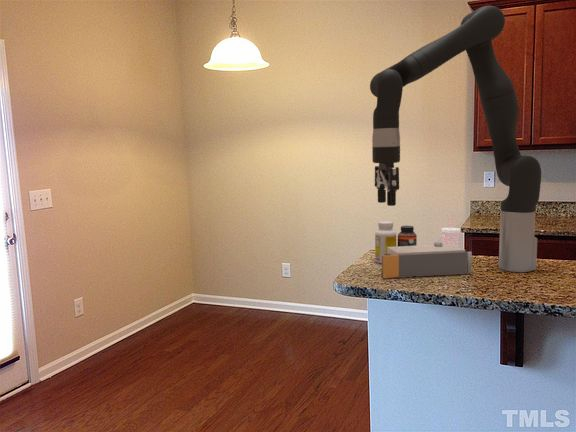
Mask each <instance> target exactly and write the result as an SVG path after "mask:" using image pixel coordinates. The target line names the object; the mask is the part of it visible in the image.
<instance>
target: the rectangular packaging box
mask: <svg viewBox="0 0 576 432" xmlns="http://www.w3.org/2000/svg"><path fill="white" fill-rule="evenodd" d="M451 252H466V249H464V248H462V247H460V246H458V247H457V246H455V245H452V244H443V242H434V243H433V244H427V245H425V244H424V245H416V246H399V247H398V246H396V247H387V254H384V255H409V254H430V253H451ZM465 274H466V273H459V274H458V275H465ZM448 275H449V276H451V275H454V274H440V275H439V276H448ZM429 276H430V277H431V276H434V275H421V276H420V277H429ZM411 277H413V276H403V277H402V278H411ZM413 278H414V277H413Z"/></svg>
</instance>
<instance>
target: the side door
mask: <svg viewBox="0 0 576 432" xmlns="http://www.w3.org/2000/svg"><path fill="white" fill-rule="evenodd" d="M472 255H473V252H472V251H465V252H451V253H430V254H409V255H384V256H382V263H381V278H382V279H383V278H384V279H385V278H404V277H403V276H416V277H422V276H421V275H435V276H441V275H440V274H453V275H460V274H459V273H465V274H471V273H472V262H473V261H472V260H473V259H472Z"/></svg>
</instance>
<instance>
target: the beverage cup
mask: <svg viewBox="0 0 576 432" xmlns="http://www.w3.org/2000/svg"><path fill="white" fill-rule="evenodd" d="M449 217H450V219H449V222H450V225H449V227H442V228H441V229H440V230H441V232H442V233H441V236H442V243H443V244H452V245H455V246H457V247H459V241H460V233H461V228H458V227H453V218H452V217H453V214H452V213H450V215H449Z"/></svg>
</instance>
